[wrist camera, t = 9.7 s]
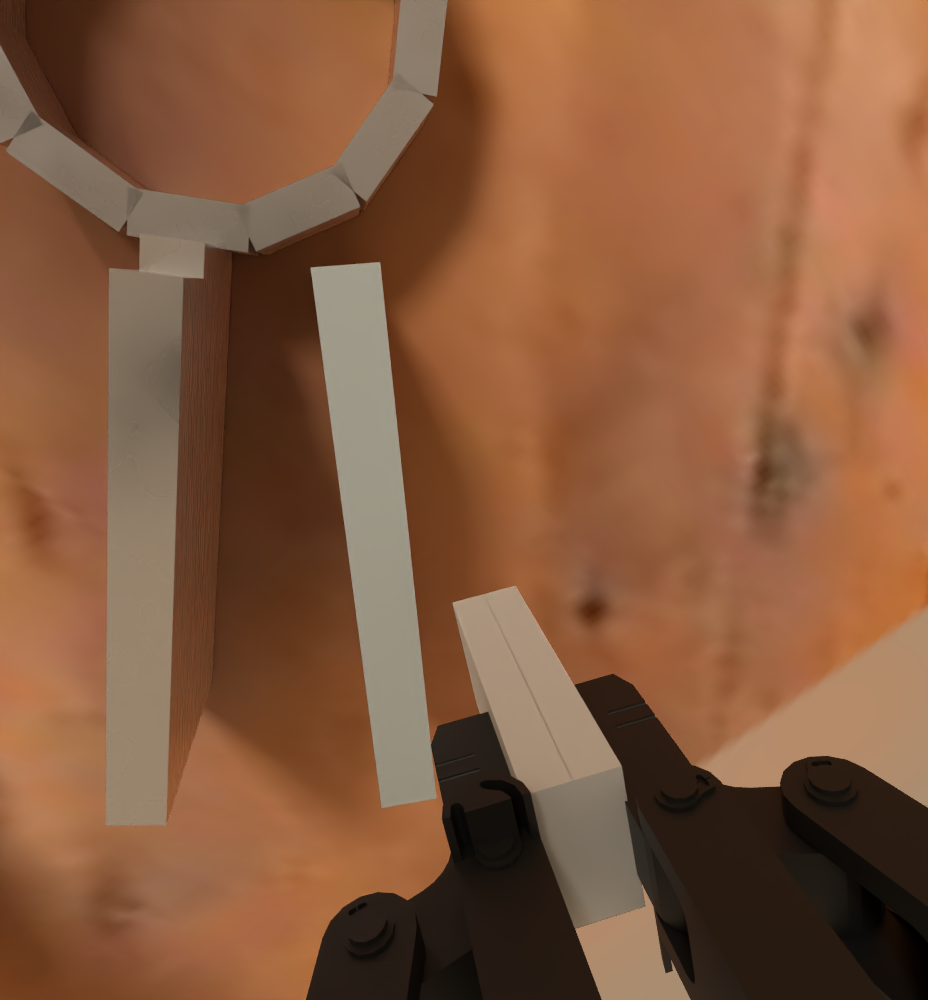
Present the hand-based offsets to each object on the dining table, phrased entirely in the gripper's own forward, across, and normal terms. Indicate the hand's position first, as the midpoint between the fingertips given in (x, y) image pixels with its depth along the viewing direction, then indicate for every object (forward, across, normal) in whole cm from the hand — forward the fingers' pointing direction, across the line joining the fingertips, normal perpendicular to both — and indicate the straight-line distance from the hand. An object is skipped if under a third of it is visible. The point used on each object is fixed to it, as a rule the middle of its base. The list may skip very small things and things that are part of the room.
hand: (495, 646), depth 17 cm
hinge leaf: (+9, -2, +2) cm, 10 cm away
